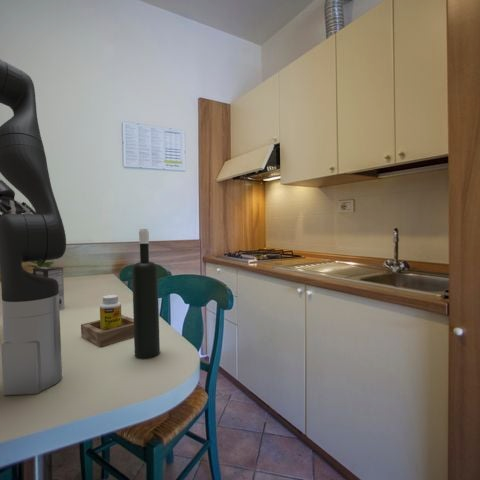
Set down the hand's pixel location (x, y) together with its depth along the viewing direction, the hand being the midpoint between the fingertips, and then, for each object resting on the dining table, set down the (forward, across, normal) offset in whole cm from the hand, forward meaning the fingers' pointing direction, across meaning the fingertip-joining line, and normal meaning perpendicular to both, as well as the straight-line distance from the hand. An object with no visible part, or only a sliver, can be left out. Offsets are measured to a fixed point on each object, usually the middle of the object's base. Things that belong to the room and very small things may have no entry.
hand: (34, 228), depth 88 cm
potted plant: (-2, +65, +47) cm, 80 cm away
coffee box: (+14, +28, +30) cm, 43 cm away
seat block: (+37, -4, +6) cm, 38 cm away
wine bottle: (+47, -18, -4) cm, 50 cm away
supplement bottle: (+37, -4, +5) cm, 37 cm away
